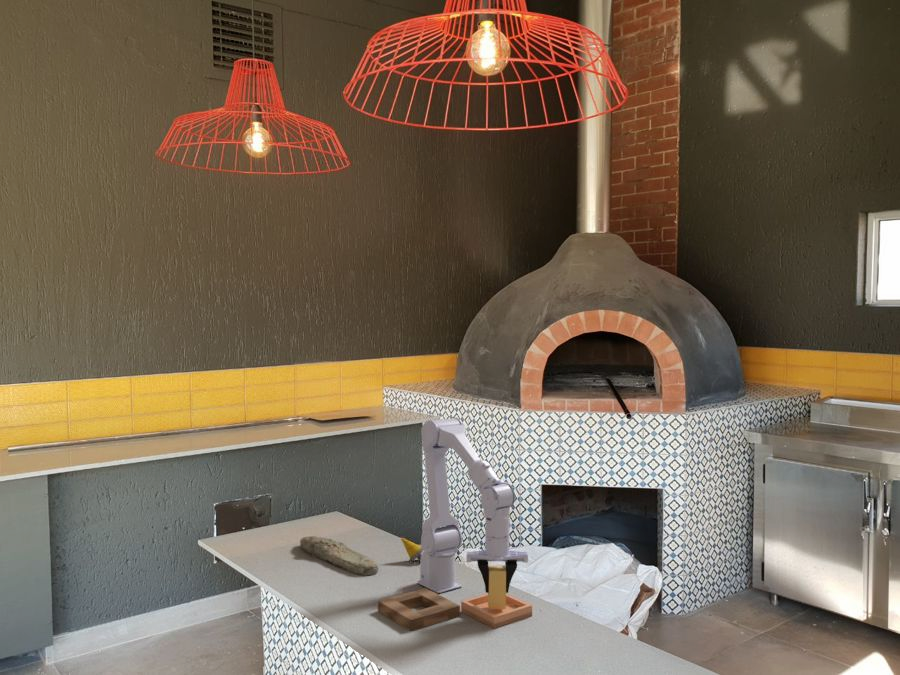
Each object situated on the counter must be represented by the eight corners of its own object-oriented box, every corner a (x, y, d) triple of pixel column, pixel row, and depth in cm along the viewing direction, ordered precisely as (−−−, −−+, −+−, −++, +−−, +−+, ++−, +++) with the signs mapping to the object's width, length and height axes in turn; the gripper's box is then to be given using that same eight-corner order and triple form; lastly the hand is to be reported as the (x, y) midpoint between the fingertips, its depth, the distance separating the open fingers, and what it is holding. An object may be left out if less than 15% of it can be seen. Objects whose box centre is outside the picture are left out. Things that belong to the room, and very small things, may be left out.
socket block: (377, 611, 180) (378, 600, 180) (425, 597, 189) (425, 588, 189) (411, 631, 169) (411, 620, 169) (459, 616, 178) (459, 605, 177)
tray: (461, 611, 180) (461, 601, 180) (498, 600, 188) (498, 590, 188) (493, 628, 171) (494, 617, 171) (532, 615, 178) (532, 605, 178)
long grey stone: (357, 585, 201) (386, 578, 208) (359, 565, 201) (388, 559, 208) (289, 547, 227) (317, 542, 234) (291, 530, 227) (319, 525, 233)
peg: (488, 608, 177) (489, 571, 177) (487, 602, 181) (488, 565, 181) (505, 608, 177) (506, 571, 177) (504, 602, 181) (504, 565, 181)
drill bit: (420, 568, 212) (396, 542, 213) (417, 570, 217) (392, 545, 218) (433, 554, 214) (408, 529, 215) (429, 556, 219) (405, 531, 220)
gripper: (467, 539, 174) (466, 597, 175) (529, 540, 175) (528, 597, 175) (466, 530, 182) (465, 586, 182) (526, 531, 182) (525, 586, 182)
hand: (496, 591), depth 179 cm, fingers closed on peg, 4 cm apart
